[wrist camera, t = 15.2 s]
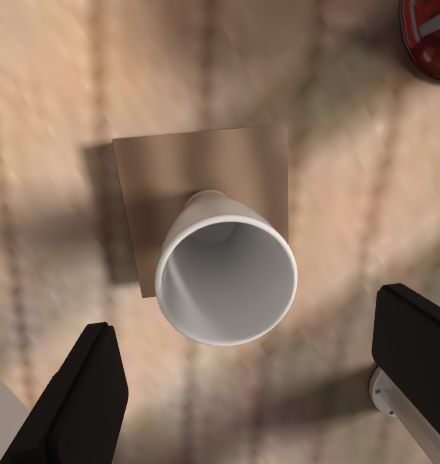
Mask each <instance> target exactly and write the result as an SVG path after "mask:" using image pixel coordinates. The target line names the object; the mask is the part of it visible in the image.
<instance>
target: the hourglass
mask: <svg viewBox="0 0 440 464" xmlns="http://www.w3.org/2000/svg"><path fill="white" fill-rule="evenodd" d="M400 20H401V26H402V31H403V37H404V42H405V44H406V46H407V48H408V50H409V52H410V54H411V56H412V58H413V60H414V62H415V63H416V64H417V65H418V66H419V67H420V68H421V69H422V70H424V71H425V72H426V73H427V74H428V75H429V76H430V77H432V78H435V79H438V80H440V0H401V4H400Z"/></svg>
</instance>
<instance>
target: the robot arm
mask: <svg viewBox="0 0 440 464" xmlns="http://www.w3.org/2000/svg"><path fill="white" fill-rule="evenodd" d="M372 356H373V359H374V361H375V362H376V363H377V365H378V366H379V367H378V368H377V369H376V370H375V372H374V374H373V376H372V378H371V381H370V385H369V395H370V398H371V400H372V402H373V403H374V405H375V406H376V407H377V408H378V410H379V411H381V412H382V413H384V414H386V415H388V416H393V417H397V418H398V419H399V420H400V421H401V423H402V424H403V425H404V427H405V428H406V429H407V430H408V432H409V433H410V434H411V435H412V437H413V438H414V439H415V441H416V442H417V443H418V444H419V446H420V447H421V448H422V449H423V451H424V452H425V453H426V455H427V456H428V457H429V458H430V460H431V461H432V462H433V463H434V464H440V307H439V306H438V305H436V304H434V303H433V302H431V301H429V300H428V299H426V298H425V297H423V296H421V295H420V294H418V293H416V292H415V291H413V290H412V289H410V288H408V287H407V286H405V285H403V284H401V283H396V284H389V285H383V286H382V287H381V289H380V290H379V291H378V292H377V299H376V309H375V320H374V331H373V342H372ZM127 402H128V386H127V381H126V377H125V373H124V368H123V364H122V360H121V356H120V351H119V347H118V343H117V339H116V334H115V330H114V327H113V326H108V324H107V322H101V323H94V324H88V325H87V326H86V327H85V329H84V330H83V332H82V334H81V335H80V337H79V338H78V340H77V342H76V343H75V345H74V346H73V348H72V350H71V351H70V353H69V355H68V356H67V358H66V359H65V361H64V363H63V364H62V366H61V368H60V369H59V371H58V372H57V373H56V374H55V375H54V376H53V377H52V379H51V380H50V382H49V384H48V385H47V387H46V388H45V390H44V392H43V393H42V395H41V396H40V398H39V400H38V401H37V403H36V404H35V406H34V408H33V409H32V411H31V412H30V414H29V416H28V417H27V419H26V421H25V422H24V424H23V426H22V427H21V429H20V430H19V432H18V433H17V435H16V437H15V438H14V440H13V441H12V443H11V444H10V446H9V448H8V449H7V451H6V452H5V454H4V456H3V457H2V459H1V460H0V464H111V463H112V459H113V455H114V452H115V448H116V444H117V440H118V436H119V432H120V429H121V425H122V421H123V417H124V413H125V409H126V406H127Z"/></svg>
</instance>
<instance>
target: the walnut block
mask: <svg viewBox="0 0 440 464" xmlns="http://www.w3.org/2000/svg"><path fill="white" fill-rule="evenodd" d="M112 143H113V148H114V153H115V158H116V164H117V169H118V174H119V179H120V184H121V190H122V195H123V200H124V205H125V210H126V216H127V221H128V226H129V231H130V236H131V241H132V247H133V252H134V257H135V262H136V267H137V273H138V278H139V283H140V288H141V293H142V298H148V297H155V296H156V292H155V275H156V270H157V265H158V260H159V256H160V252H161V248H162V245H163V243H164V240H165V237H166V235H167V233H168V231H169V229H170V227H171V226H172V224H173V222H174V221H175V219H176V218H177V217H178V215H179V214H180V213H181V212H182V210H183V209H184V206H185V204H186V202H187V201H188V200H189V199H190V198H191V197H192V196H193V195H194V194H196V193H198V192H200V191H204V190H216V191H219V192H222V193H224V194H225V195H227V196H228V197H230V198H232V199H234V200H237V201H239V202H241V203H243V204H245V205H247V206H249V207H250V208H252V209H253V210H255V211H256V212H258V213H259V214H260V215H261V216H262V217H264V218H265V219H266V220H267V221H268V222H269V223H270V224H271V225H272V226H273V227H274V228H275V229H276V231H277V232H278V233H279V234H280V235H281V236H282V237H283V239H284V240H285V241H286V242H287V244H288V152H287V125H275V126H263V127H251V128H239V129H227V130H215V131H203V132H191V133H179V134H167V135H155V136H143V137H131V138H119V139H112Z"/></svg>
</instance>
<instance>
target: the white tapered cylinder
mask: <svg viewBox="0 0 440 464" xmlns="http://www.w3.org/2000/svg"><path fill="white" fill-rule="evenodd" d="M296 288H297V266H296V262H295V259H294V256H293V253H292V251H291V249H290V247H289V246H288V244H287V242H286V241H285V240H284V239H283V237H282V236H281V235H280V234H279V233H278V232H277V231H276V229H275V228H274V227H273V226H272V225H271V224H270V223H269V222H268V221H267V220H266V219H265V218H264V217H262V216H261V215H260V214H259V213H258V212H256V211H255V210H253V209H252V208H250V207H249V206H247V205H245V204H243V203H241V202H239V201H237V200H234V199H232V198H230V197H228V196H227V195H225V194H224V193H222V192H219V191H216V190H204V191H200V192H198V193H196V194H194V195H193V196H192V197H191V198H190V199H189V200H188V201H187V202H186V204H185V206H184V209H183V210H182V212H181V213H180V214H179V215H178V217H177V218H176V219H175V221H174V222H173V224H172V226H171V227H170V229H169V231H168V233H167V235H166V237H165V240H164V243H163V245H162V248H161V252H160V256H159V260H158V265H157V270H156V275H155V292H156V298H157V301H158V304H159V307H160V309H161V311H162V313H163V315H164V316H165V318H166V319H167V321H168V322H169V323H170V324H171V325H172V326H173V327H174V328H175V329H176V330H177V331H178V332H180V333H181V334H183V335H184V336H186V337H187V338H190V339H192V340H194V341H196V342H199V343H202V344H206V345H212V346H233V345H239V344H243V343H246V342H249V341H252V340H254V339H256V338H258V337H260V336H262V335H264V334H265V333H267V332H268V331H270V330H271V329H272V328H273V327H274V326H276V325H277V324H278V323H279V322H280V320H281V319H282V318H283V317H284V316H285V314H286V313H287V311H288V310H289V308H290V306H291V304H292V301H293V299H294V296H295V293H296Z"/></svg>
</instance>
